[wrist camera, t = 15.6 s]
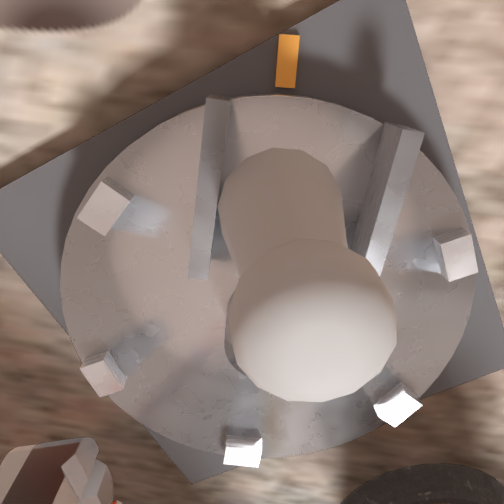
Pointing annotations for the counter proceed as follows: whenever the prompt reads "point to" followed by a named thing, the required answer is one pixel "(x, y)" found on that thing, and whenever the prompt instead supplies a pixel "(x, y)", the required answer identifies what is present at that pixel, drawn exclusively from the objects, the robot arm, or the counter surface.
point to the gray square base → (265, 82)
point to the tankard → (430, 487)
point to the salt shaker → (300, 282)
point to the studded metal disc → (226, 277)
